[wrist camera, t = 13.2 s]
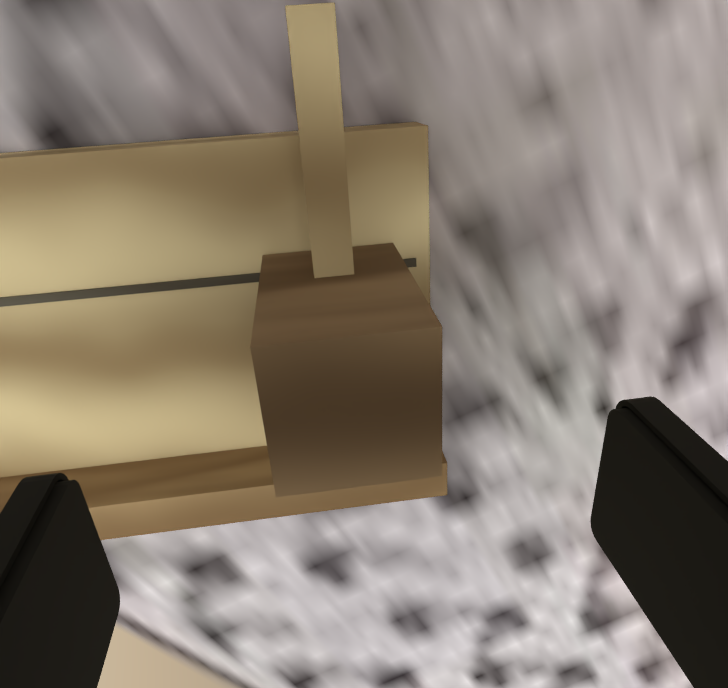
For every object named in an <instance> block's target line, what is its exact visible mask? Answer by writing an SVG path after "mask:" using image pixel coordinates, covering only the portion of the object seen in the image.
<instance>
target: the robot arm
mask: <svg viewBox="0 0 728 688" xmlns="http://www.w3.org/2000/svg"><path fill="white" fill-rule="evenodd" d="M591 528H592V532H593V534H594V537H595V539H596V540H597V542H598V544H599V545H600V547H601V548H602V550H603V551H604V553H605V554H606V556H607V557H608V559H609V560H610V562H611V563H612V565H613V566H614V568H615V569H616V571H617V572H618V574H619V575H620V577H621V578H622V580H623V581H624V583H625V584H626V586H627V587H628V589H629V590H630V592H631V593H632V595H633V596H634V598H635V599H636V601H637V602H638V604H639V605H640V607H641V609H642V610H643V612H644V613H645V615H646V616H647V618H648V619H649V621H650V622H651V624H652V625H653V627H654V628H655V630H656V631H657V633H658V634H659V636H660V637H661V639H662V640H663V642H664V643H665V645H666V646H667V648H668V649H669V651H670V652H671V654H672V655H673V657H674V658H675V660H676V661H677V663H678V664H679V666H680V667H681V669H682V670H683V672H684V674H685V675H686V677H687V678H688V680H689V681H690V683H691V684H692V686H693V687H694V688H728V461H727V460H726V459H724V458H723V457H722V456H721V455H720V454H719V453H718V452H717V451H716V450H714V449H713V448H712V447H711V446H710V445H709V444H708V443H707V442H705V441H704V440H703V439H702V438H701V437H700V436H699V435H698V434H697V433H695V432H694V431H693V430H692V429H691V428H690V427H689V426H688V425H686V424H685V423H684V422H683V421H682V420H681V419H680V418H679V417H678V416H676V415H675V414H674V413H673V412H672V411H671V410H670V409H669V408H667V407H666V406H665V405H664V404H663V403H662V402H661V401H660V400H658V399H657V398H655V397H644V398H636V399H628V400H622V401H620V402H619V403H618V404H617V406H616V409H613V410H611V411H610V413H609V415H608V419H607V425H606V431H605V437H604V443H603V449H602V455H601V461H600V466H599V472H598V478H597V484H596V490H595V496H594V502H593V508H592V514H591ZM119 607H120V594H119V589H118V586H117V583H116V581H115V578H114V575H113V573H112V570H111V567H110V565H109V562H108V559H107V557H106V554H105V551H104V549H103V546H102V543H101V540H100V538H99V535H98V532H97V530H96V527H95V524H94V522H93V519H92V516H91V514H90V511H89V508H88V505H87V503H86V500H85V497H84V495H83V492H82V489H81V487H80V485H79V483H78V482H77V481H76V480H68V478H67V476H66V475H65V474H64V473H53V474H45V475H38V476H30V477H25V478H23V479H22V480H21V481H20V482H19V483H18V485H17V487H16V488H15V490H14V492H13V493H12V495H11V497H10V498H9V500H8V501H7V503H6V505H5V506H4V508H3V510H2V511H1V513H0V688H97V685H98V682H99V679H100V675H101V672H102V668H103V665H104V661H105V658H106V654H107V651H108V647H109V644H110V640H111V637H112V633H113V630H114V626H115V623H116V620H117V616H118V612H119Z"/></svg>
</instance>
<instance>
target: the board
mask: <svg viewBox="0 0 728 688" xmlns="http://www.w3.org/2000/svg"><path fill="white" fill-rule="evenodd" d="M344 139H345V153H346V167H347V181H348V194H349V208H350V222H351V236H352V247H353V246H364V245H374V244H385V243H394V245H395V247H396V248H397V250H398V252H399V254H400V255H401V257H402V259H403V260H404V262H405V264H406V266H407V267H408V269H409V271H410V272H411V274H412V276H413V277H414V279H415V281H416V283H417V284H418V286H419V288H420V289H421V291H422V293H423V295H424V296H425V298H426V300H427V301H428V303H429V305H430V244H429V165H428V126H427V125H424V124H421V123H418V122H406V123H393V124H380V125H366V126H353V127H344ZM300 251H311V244H310V235H309V225H308V216H307V206H306V197H305V188H304V178H303V169H302V160H301V150H300V141H299V132H298V131H287V132H274V133H260V134H247V135H234V136H221V137H207V138H194V139H181V140H168V141H155V142H141V143H128V144H115V145H102V146H88V147H75V148H62V149H49V150H35V151H22V152H9V153H0V513H1V511H2V510H3V508H4V506H5V505H6V503H7V501H8V500H9V498H10V497H11V495H12V493H13V492H14V490H15V488H16V487H17V485H18V483H19V482H20V481H21V480H22V479H23V478H25V477H30V476H38V475H45V474H53V473H64V474H65V475H66V476H67V478H68V480H76V481H77V482H78V483H79V485H80V487H81V489H82V492H83V495H84V497H85V500H86V503H87V505H88V508H89V511H90V514H91V516H92V519H93V522H94V524H95V527H96V530H97V532H98V535H99V538H100V540H105V539H112V538H120V537H128V536H135V535H143V534H151V533H159V532H166V531H174V530H182V529H189V528H197V527H205V526H212V525H220V524H228V523H235V522H243V521H251V520H258V519H266V518H274V517H281V516H289V515H297V514H304V513H312V512H320V511H328V510H335V509H343V508H351V507H358V506H366V505H374V504H381V503H389V502H397V501H404V500H412V499H420V498H427V497H435V496H443V495H447V461H446V459H445V457H444V454H443V452H442V476H440V477H432V478H424V479H417V480H409V481H401V482H393V483H386V484H378V485H370V486H362V487H355V488H347V489H339V490H331V491H324V492H316V493H308V494H300V495H293V496H285V497H277V498H276V495H275V489H274V483H273V478H272V472H271V466H270V460H269V454H268V448H267V443H266V437H265V431H264V425H263V419H262V413H261V407H260V402H259V396H258V390H257V384H256V378H255V372H254V367H253V361H252V355H251V349H250V345H251V338H252V330H253V323H254V315H255V308H256V300H257V293H258V285H259V278H260V270H261V263H262V255H269V254H279V253H290V252H300Z"/></svg>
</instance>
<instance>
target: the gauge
mask: <svg viewBox="0 0 728 688" xmlns="http://www.w3.org/2000/svg"><path fill="white" fill-rule="evenodd" d="M285 10H286V19H287V29H288V38H289V47H290V57H291V66H292V75H293V85H294V94H295V103H296V113H297V122H298V132H299V141H300V150H301V160H302V169H303V178H304V188H305V197H306V206H307V216H308V225H309V235H310V244H311V251H300V252H290V253H279V254H269V255H262V263H261V270H260V278H259V285H258V293H257V300H256V308H255V315H254V323H253V330H252V338H251V345H250V349H251V355H252V361H253V367H254V372H255V378H256V384H257V390H258V396H259V402H260V407H261V413H262V419H263V425H264V431H265V437H266V443H267V448H268V454H269V460H270V466H271V472H272V478H273V483H274V489H275V495H276V498H277V497H285V496H293V495H300V494H308V493H316V492H324V491H331V490H339V489H347V488H355V487H362V486H370V485H378V484H386V483H393V482H401V481H409V480H417V479H424V478H432V477H440V476H442V325H441V324H440V322H439V320H438V319H437V317H436V315H435V313H434V312H433V310H432V308H431V307H430V305H429V303H428V301H427V300H426V298H425V296H424V295H423V293H422V291H421V289H420V288H419V286H418V284H417V283H416V281H415V279H414V277H413V276H412V274H411V272H410V271H409V269H408V267H407V266H406V264H405V262H404V260H403V259H402V257H401V255H400V254H399V252H398V250H397V248H396V247H395V245H394V243H385V244H374V245H364V246H353V247H352V236H351V222H350V208H349V194H348V181H347V167H346V153H345V139H344V125H343V112H342V98H341V84H340V70H339V56H338V43H337V29H336V15H335V3H321V4H304V5H288V6H285Z"/></svg>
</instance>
